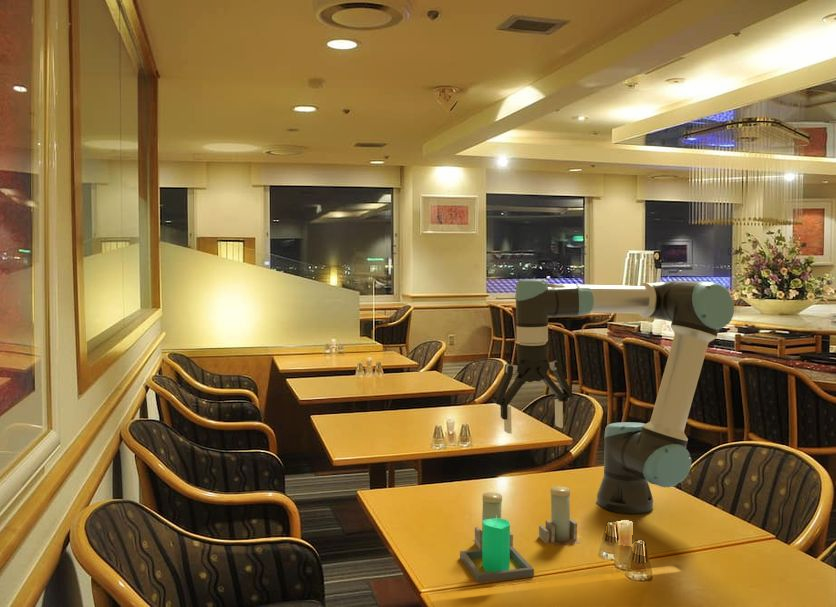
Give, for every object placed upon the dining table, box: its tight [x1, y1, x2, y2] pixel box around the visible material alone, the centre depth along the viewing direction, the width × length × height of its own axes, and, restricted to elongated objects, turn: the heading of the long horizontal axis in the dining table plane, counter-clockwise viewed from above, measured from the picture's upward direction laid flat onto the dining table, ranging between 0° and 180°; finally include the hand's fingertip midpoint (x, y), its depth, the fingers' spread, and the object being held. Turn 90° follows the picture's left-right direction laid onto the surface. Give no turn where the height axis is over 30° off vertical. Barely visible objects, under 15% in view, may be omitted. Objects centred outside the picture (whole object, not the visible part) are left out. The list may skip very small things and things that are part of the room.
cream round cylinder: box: [550, 485, 571, 541], centre depth 175 cm, size 5×5×12 cm
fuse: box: [481, 491, 503, 532], centre depth 170 cm, size 5×5×12 cm
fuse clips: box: [472, 517, 581, 549], centre depth 171 cm, size 25×12×5 cm, turn 104°
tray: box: [459, 545, 535, 588], centre depth 159 cm, size 13×13×3 cm
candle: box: [481, 515, 511, 572], centre depth 159 cm, size 6×6×12 cm
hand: (533, 429), depth 176 cm, fingers open, 13 cm apart
